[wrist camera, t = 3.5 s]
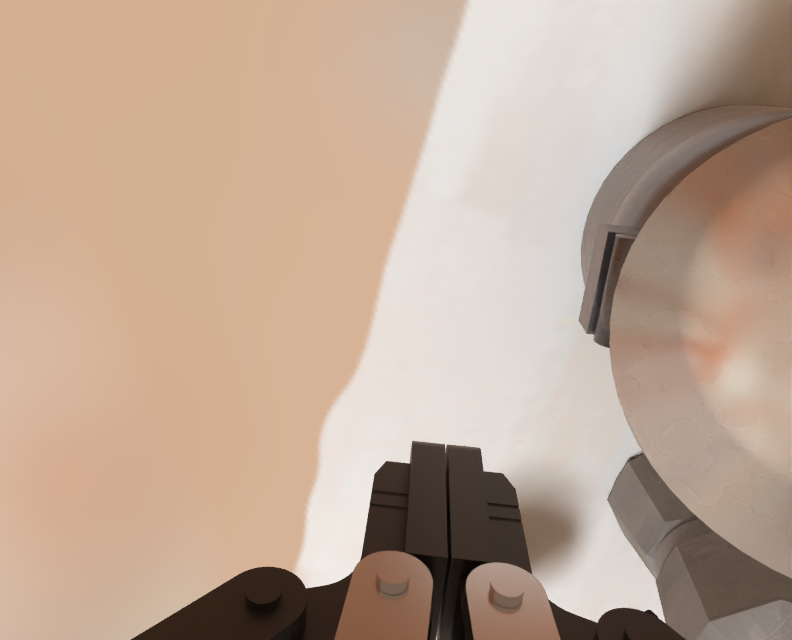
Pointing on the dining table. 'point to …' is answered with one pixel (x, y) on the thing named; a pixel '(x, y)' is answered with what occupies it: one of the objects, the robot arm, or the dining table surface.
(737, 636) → the coffeepot
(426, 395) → the dining table surface
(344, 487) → the dining table surface
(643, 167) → the pot
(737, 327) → the lid
